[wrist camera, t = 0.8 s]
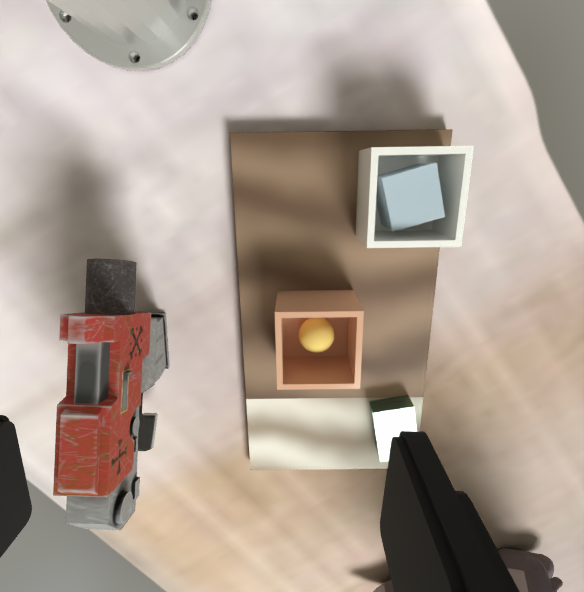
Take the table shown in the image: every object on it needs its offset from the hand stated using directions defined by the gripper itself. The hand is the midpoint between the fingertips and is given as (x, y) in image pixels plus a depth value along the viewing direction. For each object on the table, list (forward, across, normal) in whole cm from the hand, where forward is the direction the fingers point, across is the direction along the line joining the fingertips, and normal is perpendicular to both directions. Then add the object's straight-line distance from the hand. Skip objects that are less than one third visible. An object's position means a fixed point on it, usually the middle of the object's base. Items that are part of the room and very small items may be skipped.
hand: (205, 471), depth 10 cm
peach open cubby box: (+26, -4, +6) cm, 27 cm away
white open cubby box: (+26, -11, -6) cm, 29 cm away
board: (+27, -6, +6) cm, 29 cm away
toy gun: (+28, +12, +9) cm, 31 cm away
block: (+26, -11, -6) cm, 28 cm away
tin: (+26, -13, +17) cm, 34 cm away
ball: (+26, -4, +6) cm, 27 cm away
